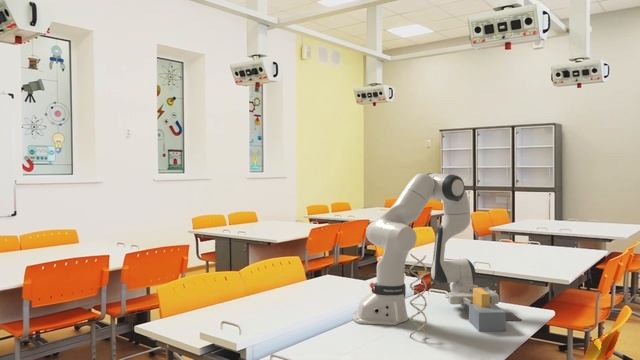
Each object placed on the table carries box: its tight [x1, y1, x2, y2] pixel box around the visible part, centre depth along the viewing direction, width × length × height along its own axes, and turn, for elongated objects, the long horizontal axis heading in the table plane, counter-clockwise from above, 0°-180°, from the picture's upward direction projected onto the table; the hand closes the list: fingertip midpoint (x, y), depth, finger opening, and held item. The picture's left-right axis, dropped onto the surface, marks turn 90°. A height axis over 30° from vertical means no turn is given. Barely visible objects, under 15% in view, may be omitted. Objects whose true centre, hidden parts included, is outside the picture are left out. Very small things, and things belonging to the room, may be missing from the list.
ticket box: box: [468, 304, 507, 332], centre depth 198 cm, size 10×12×7 cm
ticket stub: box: [473, 288, 489, 307], centre depth 204 cm, size 3×10×12 cm, turn 2°
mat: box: [506, 312, 522, 322], centre depth 209 cm, size 10×10×1 cm
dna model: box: [408, 253, 428, 340], centre depth 185 cm, size 7×6×30 cm
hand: (479, 303), depth 206 cm, fingers open, 5 cm apart
